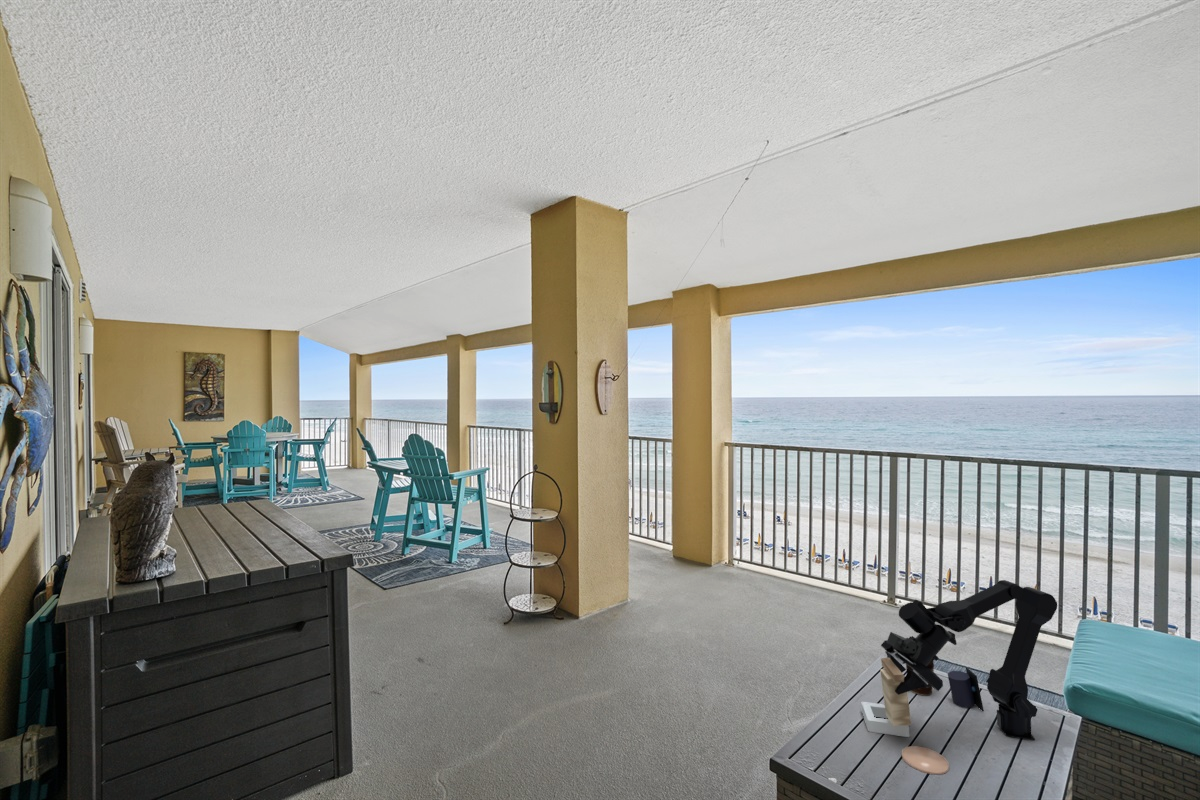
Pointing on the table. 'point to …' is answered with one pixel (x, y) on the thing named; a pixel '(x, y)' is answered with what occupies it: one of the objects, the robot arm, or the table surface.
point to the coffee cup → (928, 690)
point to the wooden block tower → (894, 694)
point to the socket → (881, 720)
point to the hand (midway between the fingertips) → (889, 687)
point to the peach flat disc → (925, 760)
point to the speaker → (965, 689)
